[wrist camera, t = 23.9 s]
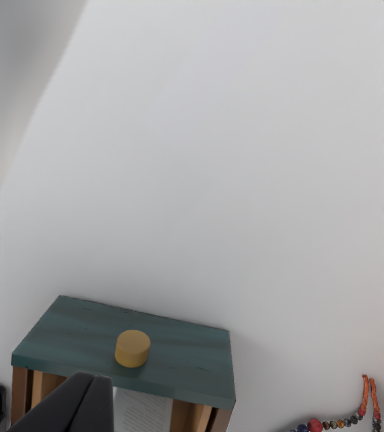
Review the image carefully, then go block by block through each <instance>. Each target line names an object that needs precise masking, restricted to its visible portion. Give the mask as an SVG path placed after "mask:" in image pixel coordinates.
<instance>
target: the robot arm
mask: <svg viewBox="0 0 384 432" xmlns="http://www.w3.org/2000/svg"><path fill="white" fill-rule="evenodd" d="M0 432H114V406H113V380H112V378H111V377H108V376H103V375H95V376H94V374H92V373H88V372H84V371H76V372H75V373H73V374H72V375H71V376H70V377H69V378H68V379H66V380H65V381H64V382H63V383H62V384H61V385H59V386H58V387H57V388H56V389H55V390H53V391H52V392H51V393H50V394H49V395H48V396H46V397H45V398H44V399H43V400H42V401H41V402H39V403H38V404H37V405H36V406H35V407H34V408H32V409H31V410H30V411H29V412H28V413H27V414H25V415H24V416H23V417H22V418H21V419H19V420H18V421H17V422H16V423H15V424H14V425H12V426H11V427H10V428H9V429H8V430H7V431H6V414H5V389H4V387H2V386H0Z"/></svg>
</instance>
